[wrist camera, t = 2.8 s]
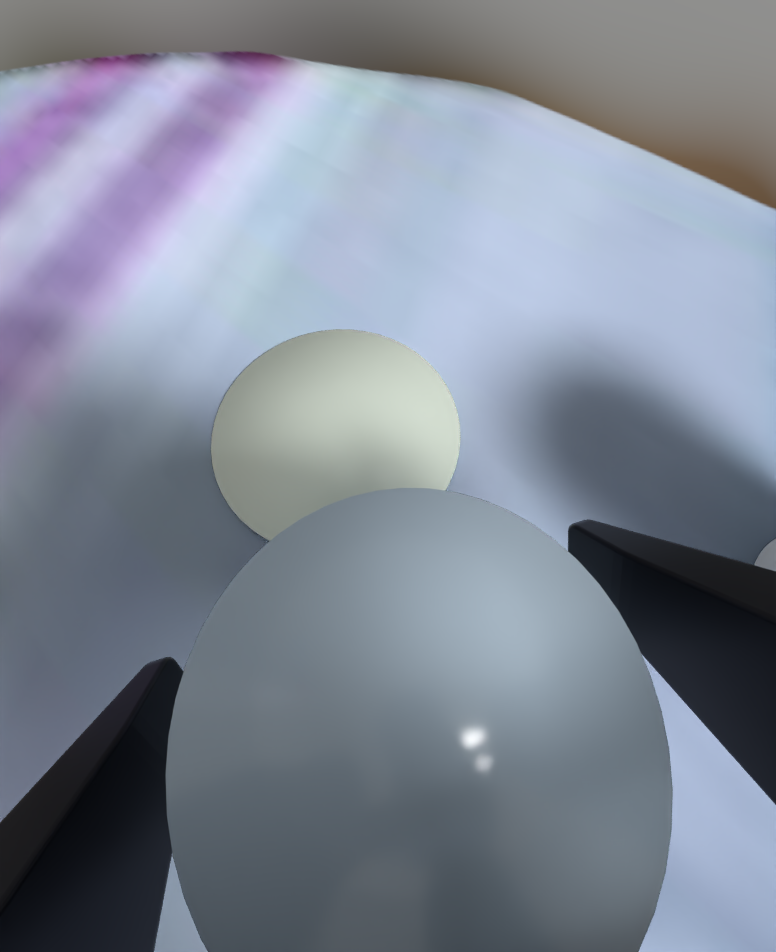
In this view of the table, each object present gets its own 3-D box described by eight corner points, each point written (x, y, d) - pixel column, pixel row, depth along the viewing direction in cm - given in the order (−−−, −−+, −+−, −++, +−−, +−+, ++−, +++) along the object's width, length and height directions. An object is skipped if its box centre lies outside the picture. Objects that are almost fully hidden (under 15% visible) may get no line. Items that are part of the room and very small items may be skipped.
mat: (474, 549, 15) (475, 548, 14) (197, 561, 14) (195, 561, 14) (446, 327, 18) (447, 325, 18) (226, 336, 18) (224, 333, 18)
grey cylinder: (482, 723, 13) (753, 1075, 3) (322, 732, 13) (118, 1113, 3) (464, 561, 14) (602, 478, 5) (324, 567, 14) (200, 496, 5)
